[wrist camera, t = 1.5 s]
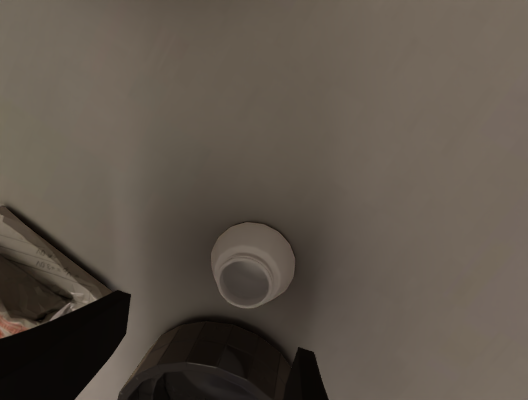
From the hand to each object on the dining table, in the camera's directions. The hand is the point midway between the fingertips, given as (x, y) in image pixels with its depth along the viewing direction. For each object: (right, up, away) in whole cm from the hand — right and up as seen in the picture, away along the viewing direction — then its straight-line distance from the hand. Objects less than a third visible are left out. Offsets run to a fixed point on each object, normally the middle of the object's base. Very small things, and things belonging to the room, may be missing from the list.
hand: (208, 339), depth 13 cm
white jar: (+2, +2, +7) cm, 8 cm away
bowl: (-1, -7, +10) cm, 12 cm away
